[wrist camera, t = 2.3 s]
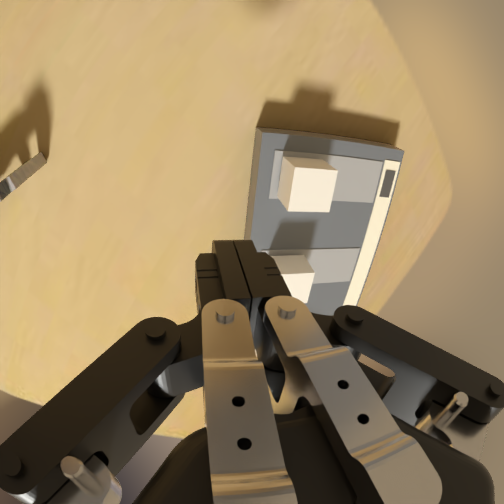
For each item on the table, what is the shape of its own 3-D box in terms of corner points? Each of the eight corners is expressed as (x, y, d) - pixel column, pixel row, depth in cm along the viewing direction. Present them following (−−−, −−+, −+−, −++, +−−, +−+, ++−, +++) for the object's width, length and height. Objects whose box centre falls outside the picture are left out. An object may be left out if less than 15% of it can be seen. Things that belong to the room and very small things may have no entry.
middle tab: (268, 255, 25) (276, 274, 23) (303, 254, 26) (314, 272, 24) (263, 286, 27) (271, 305, 25) (297, 284, 27) (307, 303, 25)
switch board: (256, 127, 22) (262, 132, 20) (390, 144, 25) (404, 151, 23) (233, 342, 33) (237, 357, 32) (335, 331, 36) (341, 344, 34)
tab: (283, 156, 21) (294, 167, 19) (322, 159, 22) (338, 170, 20) (277, 196, 23) (287, 211, 21) (315, 197, 23) (329, 212, 21)
